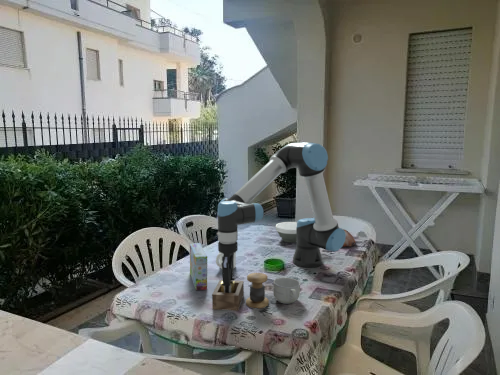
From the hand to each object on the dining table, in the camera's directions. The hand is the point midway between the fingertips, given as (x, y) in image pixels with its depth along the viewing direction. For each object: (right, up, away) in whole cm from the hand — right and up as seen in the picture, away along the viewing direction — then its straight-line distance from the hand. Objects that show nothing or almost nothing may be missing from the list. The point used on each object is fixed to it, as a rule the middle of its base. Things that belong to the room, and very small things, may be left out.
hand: (228, 298), depth 145 cm
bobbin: (+11, -2, -1) cm, 12 cm away
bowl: (+34, +11, +84) cm, 91 cm away
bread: (+63, +10, +77) cm, 100 cm away
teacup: (+23, -2, 0) cm, 23 cm away
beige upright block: (0, 0, 0) cm, 1 cm away
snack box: (-15, +1, +21) cm, 26 cm away
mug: (-4, +4, +37) cm, 37 cm away
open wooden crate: (0, -1, 0) cm, 1 cm away
